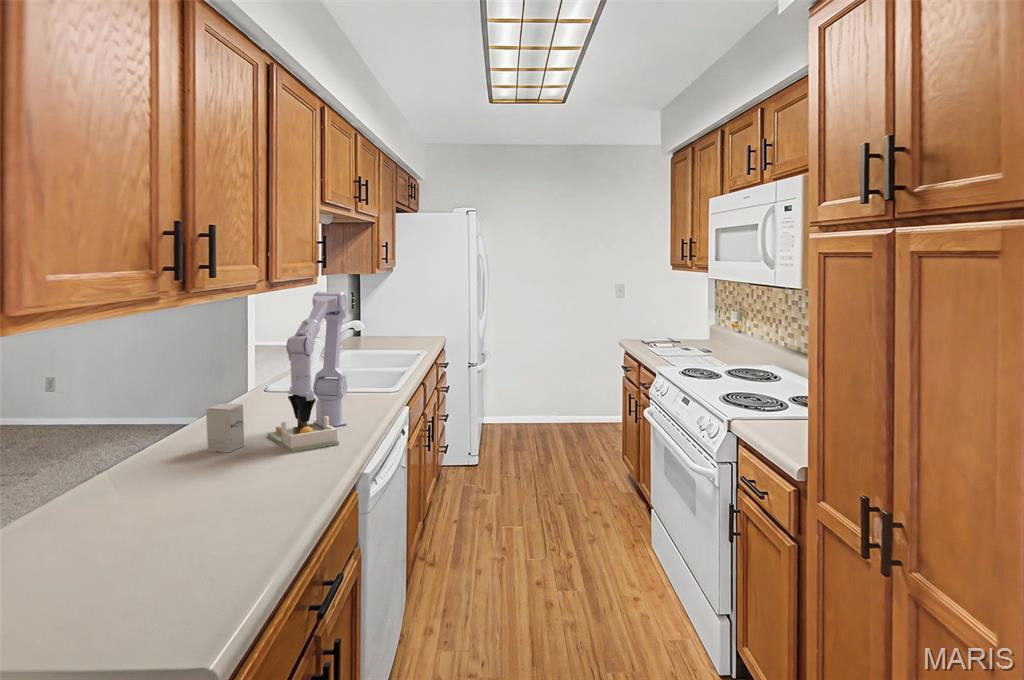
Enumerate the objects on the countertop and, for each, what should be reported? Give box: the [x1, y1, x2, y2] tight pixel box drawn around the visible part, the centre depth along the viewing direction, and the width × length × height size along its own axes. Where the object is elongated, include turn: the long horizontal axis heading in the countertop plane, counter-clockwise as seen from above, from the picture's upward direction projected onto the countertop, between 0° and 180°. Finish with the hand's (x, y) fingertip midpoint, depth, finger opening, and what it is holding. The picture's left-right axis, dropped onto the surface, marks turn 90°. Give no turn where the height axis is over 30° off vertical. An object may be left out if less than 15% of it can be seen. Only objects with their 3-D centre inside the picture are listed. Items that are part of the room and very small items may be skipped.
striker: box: [293, 410, 313, 435], centre depth 207 cm, size 3×5×8 cm, turn 127°
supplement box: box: [205, 403, 245, 453], centre depth 198 cm, size 7×7×13 cm
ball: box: [300, 427, 314, 434], centre depth 205 cm, size 4×4×4 cm
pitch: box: [267, 416, 340, 453], centre depth 207 cm, size 22×14×7 cm, turn 37°
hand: (302, 420), depth 207 cm, fingers open, 4 cm apart
